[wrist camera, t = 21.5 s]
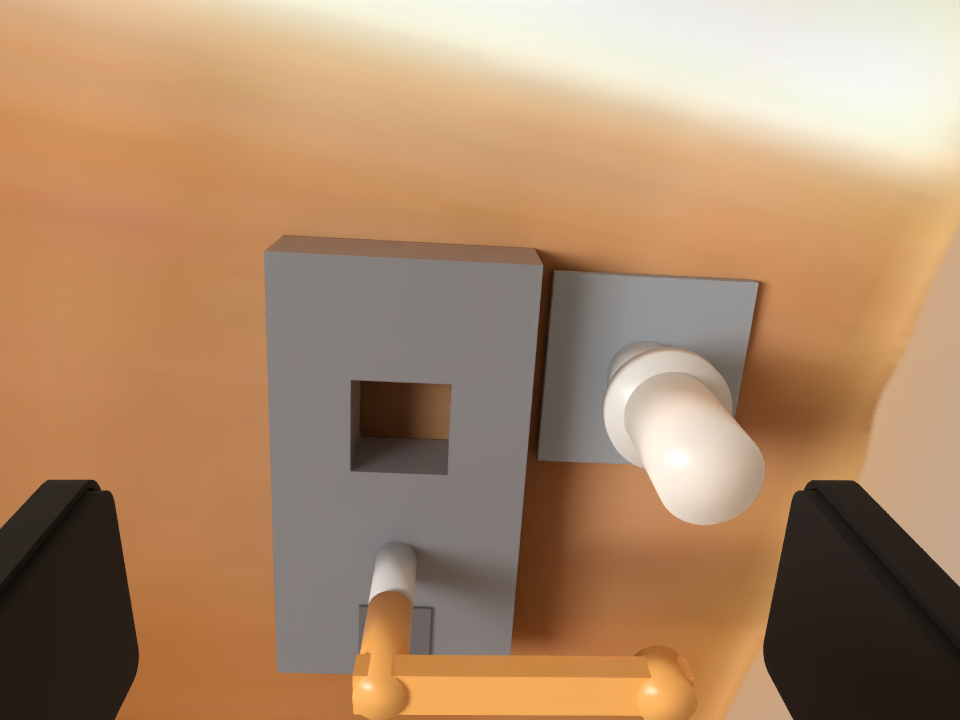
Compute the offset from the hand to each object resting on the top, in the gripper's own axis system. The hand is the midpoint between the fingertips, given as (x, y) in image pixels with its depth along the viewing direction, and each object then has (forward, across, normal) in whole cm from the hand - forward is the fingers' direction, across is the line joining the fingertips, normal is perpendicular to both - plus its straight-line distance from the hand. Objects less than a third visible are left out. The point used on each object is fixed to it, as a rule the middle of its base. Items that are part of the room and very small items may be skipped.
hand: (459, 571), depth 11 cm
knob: (+27, -10, +8) cm, 30 cm away
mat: (+28, -10, +8) cm, 30 cm away
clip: (+19, -3, +16) cm, 25 cm away
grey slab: (+28, +2, +13) cm, 30 cm away
